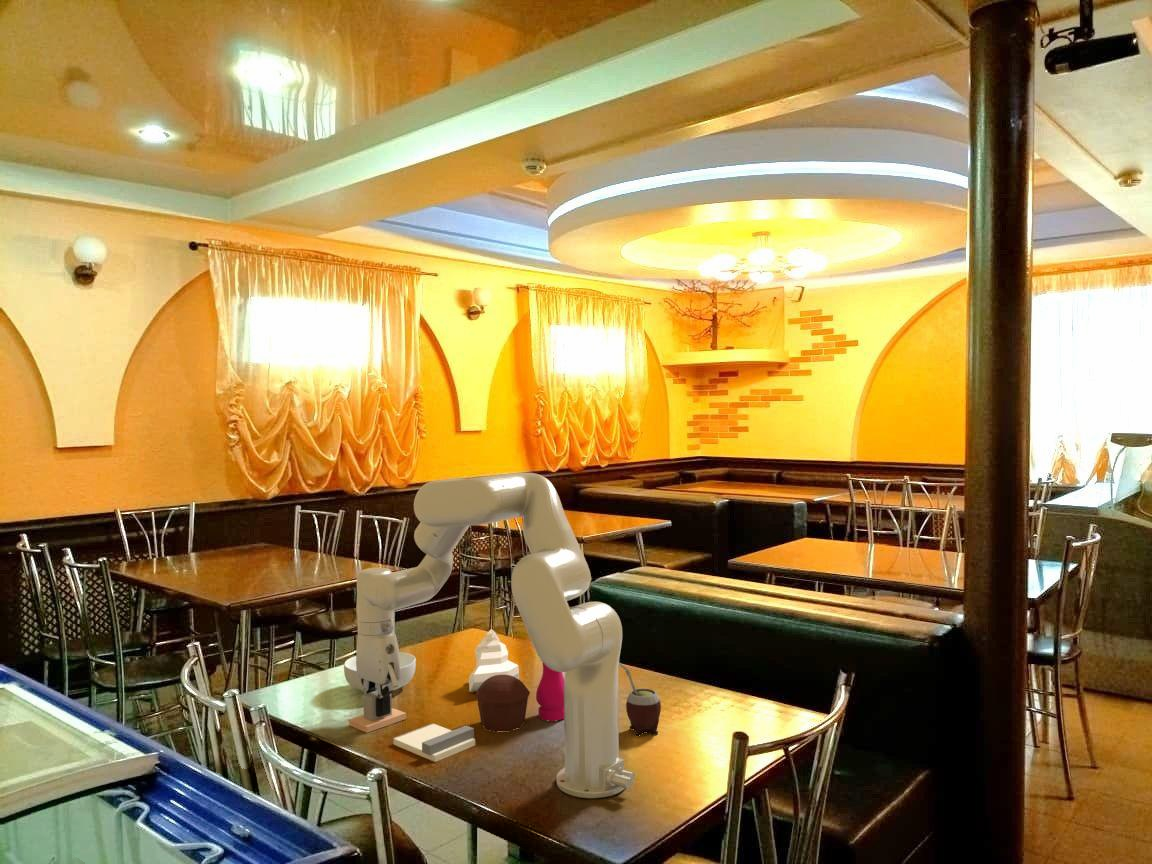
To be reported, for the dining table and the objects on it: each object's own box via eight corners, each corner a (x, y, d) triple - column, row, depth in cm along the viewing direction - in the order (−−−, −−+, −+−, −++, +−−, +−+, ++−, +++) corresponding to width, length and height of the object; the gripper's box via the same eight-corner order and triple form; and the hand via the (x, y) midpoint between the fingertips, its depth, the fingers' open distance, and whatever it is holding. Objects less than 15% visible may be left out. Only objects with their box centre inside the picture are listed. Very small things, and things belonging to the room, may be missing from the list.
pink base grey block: (406, 718, 175) (405, 690, 175) (366, 732, 167) (366, 702, 167) (388, 711, 179) (387, 683, 179) (349, 725, 172) (348, 696, 171)
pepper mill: (565, 723, 171) (564, 628, 171) (532, 721, 172) (530, 627, 172) (572, 711, 178) (571, 620, 178) (540, 709, 179) (539, 619, 179)
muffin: (465, 723, 172) (464, 676, 172) (508, 710, 179) (507, 665, 179) (497, 740, 163) (496, 690, 163) (541, 725, 170) (540, 678, 170)
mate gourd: (667, 729, 167) (666, 656, 167) (648, 742, 160) (647, 666, 160) (635, 722, 171) (634, 651, 171) (616, 734, 165) (615, 661, 164)
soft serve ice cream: (451, 693, 195) (448, 632, 199) (506, 686, 204) (502, 628, 207) (474, 694, 185) (471, 630, 189) (531, 686, 194) (527, 625, 197)
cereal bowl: (400, 703, 185) (400, 672, 185) (332, 700, 187) (331, 670, 187) (426, 679, 202) (425, 650, 201) (362, 677, 204) (362, 649, 204)
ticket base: (477, 744, 161) (477, 729, 161) (433, 762, 152) (432, 747, 152) (434, 728, 169) (434, 714, 169) (390, 745, 161) (390, 730, 161)
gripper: (414, 629, 170) (416, 716, 171) (368, 617, 181) (370, 699, 181) (384, 637, 165) (386, 727, 165) (338, 624, 175) (340, 709, 176)
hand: (377, 712), depth 173 cm, fingers open, 3 cm apart
